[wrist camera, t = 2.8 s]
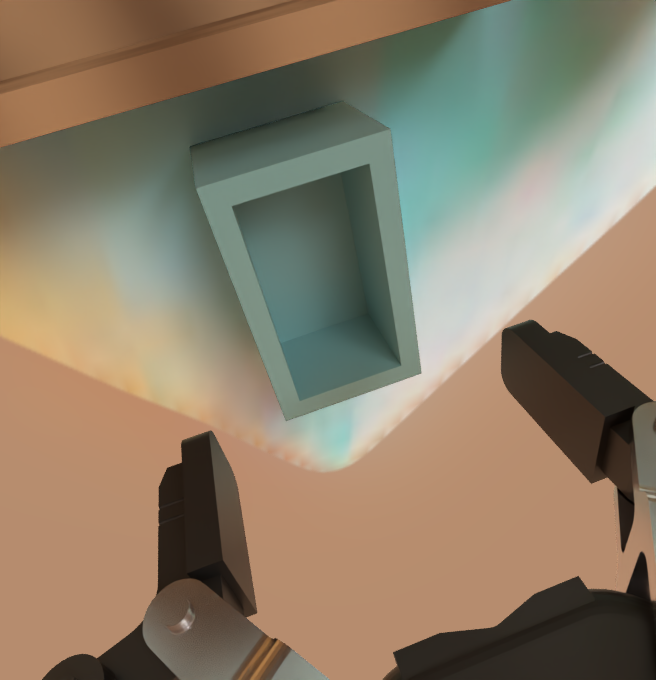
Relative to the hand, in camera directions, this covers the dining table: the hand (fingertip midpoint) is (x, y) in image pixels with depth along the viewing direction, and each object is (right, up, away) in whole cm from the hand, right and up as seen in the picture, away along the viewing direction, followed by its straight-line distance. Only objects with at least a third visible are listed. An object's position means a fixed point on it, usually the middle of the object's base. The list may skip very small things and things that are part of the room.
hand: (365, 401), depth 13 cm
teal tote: (-2, +6, +8) cm, 10 cm away
